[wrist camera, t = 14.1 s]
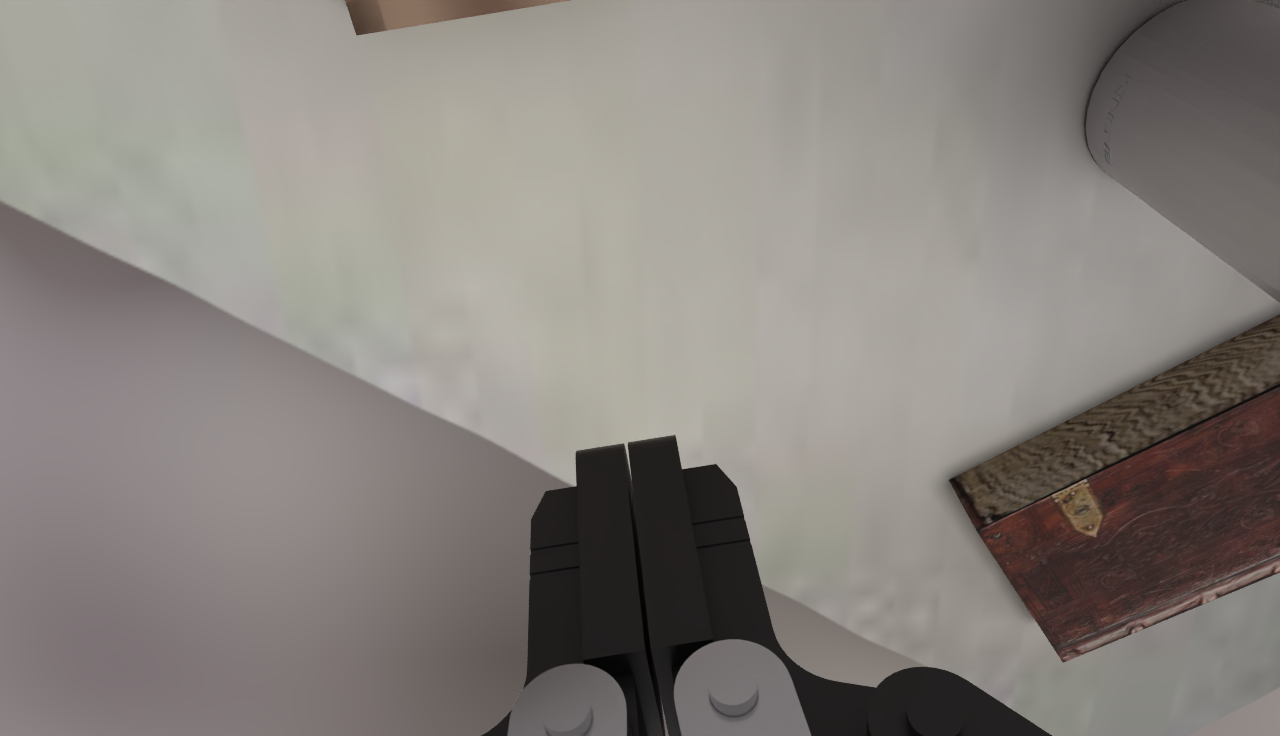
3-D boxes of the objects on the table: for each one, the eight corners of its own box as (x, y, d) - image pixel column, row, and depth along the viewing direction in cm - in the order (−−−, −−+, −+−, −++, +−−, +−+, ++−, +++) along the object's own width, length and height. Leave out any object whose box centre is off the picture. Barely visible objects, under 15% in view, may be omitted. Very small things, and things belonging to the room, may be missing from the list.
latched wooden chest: (1035, 612, 65) (1067, 669, 61) (945, 474, 55) (976, 530, 51) (1439, 435, 57) (1506, 487, 53) (1419, 237, 47) (1500, 282, 43)
